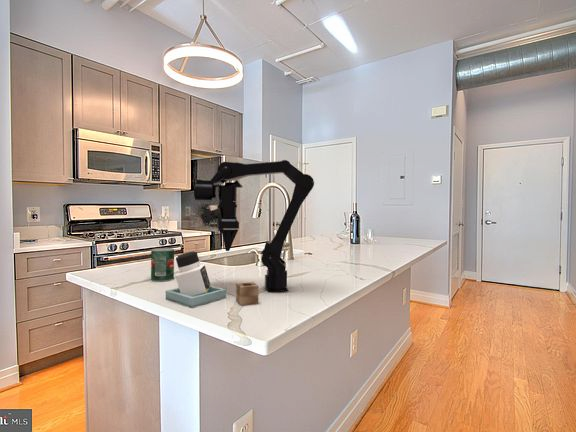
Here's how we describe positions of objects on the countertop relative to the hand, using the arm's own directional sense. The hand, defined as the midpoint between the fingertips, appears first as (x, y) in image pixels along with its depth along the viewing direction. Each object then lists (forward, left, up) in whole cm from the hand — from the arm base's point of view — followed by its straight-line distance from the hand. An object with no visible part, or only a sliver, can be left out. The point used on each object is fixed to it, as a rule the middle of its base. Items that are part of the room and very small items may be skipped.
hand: (226, 249), depth 102 cm
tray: (+9, +10, -13) cm, 19 cm away
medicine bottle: (+9, +10, -12) cm, 18 cm away
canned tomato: (+22, -17, -13) cm, 31 cm away
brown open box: (-5, +16, -13) cm, 21 cm away
